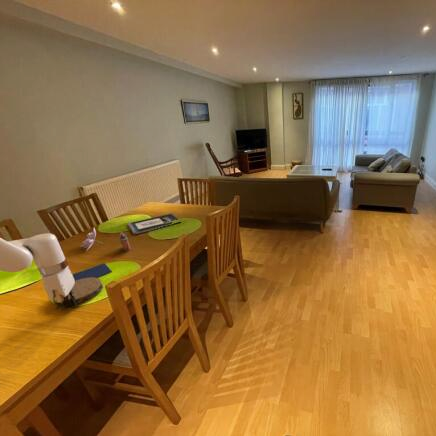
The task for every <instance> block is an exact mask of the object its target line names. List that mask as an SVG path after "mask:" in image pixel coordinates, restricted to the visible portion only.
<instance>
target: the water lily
mask: <svg viewBox="0 0 436 436" xmlns="http://www.w3.org/2000/svg"><path fill="white" fill-rule="evenodd" d="M92 229H93V230H92V231H90V232H89V233H87V234H86V237H87V238H86V239H85V240H83V241H82V242H81V245H80V247H84V249H85V252H87V251H89V249H90V248H91V247H92V246H93V244H94V242H96V243H98V244H100V245H103V243H102V242H101V241H98V240H96V237H97V231H96V229H95V227H93V228H92Z"/></svg>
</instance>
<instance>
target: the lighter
mask: <svg viewBox="0 0 436 436" xmlns="http://www.w3.org/2000/svg"><path fill="white" fill-rule="evenodd" d="M119 234H120V235H119V240H120V244H121V246H122V250H123V251H124V252H125V253H128V252H131V251H132V248H131V246H130V242H129V238H128V236H127V235H126V234H125V233H124V232H123V231H122V232H120V233H119Z"/></svg>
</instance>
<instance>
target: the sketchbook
mask: <svg viewBox="0 0 436 436" xmlns="http://www.w3.org/2000/svg"><path fill="white" fill-rule="evenodd" d="M178 219H179V218H178V217H176V216H175V215H174V214H173V213H167V214H164V215H159V216H154V217H149V218H146V219H145V218H144V219H140V220H135V221H132V222H128V223H127V224H126V225H127V227H128V228H129V229H130V231H131V232H132V234H133V235H139V234H142V233H147V232H150V231H155V230H159V229H162V228H164V227H163V226H166V227H168V226H167V225H170V224H172V221H174V220H178ZM170 226H171V225H170ZM160 227H162V228H160ZM166 227H165V228H166ZM157 228H158V229H157ZM154 229H155V230H154Z"/></svg>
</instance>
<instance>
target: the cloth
mask: <svg viewBox="0 0 436 436" xmlns="http://www.w3.org/2000/svg"><path fill="white" fill-rule="evenodd" d="M112 272H113V271H112V270H111V269H110V267H109V266H108V265H107V264H106V263H105V262H102V263H100V264H98V265H95V266H92V267H89V268H86V269H84V270H80V271H78V272H75V273H72V275H73V277H74V280H75V281H76V280H79V279H83V278H91V277H94V278H98V279H99V278H100V277H104V276H105V275H108V274H111V273H112Z"/></svg>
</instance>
